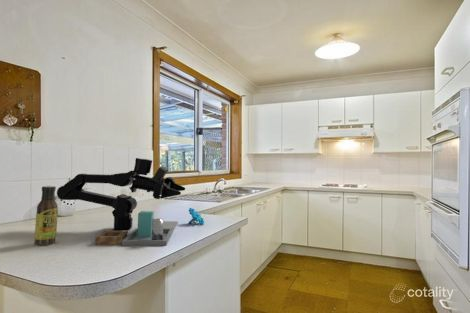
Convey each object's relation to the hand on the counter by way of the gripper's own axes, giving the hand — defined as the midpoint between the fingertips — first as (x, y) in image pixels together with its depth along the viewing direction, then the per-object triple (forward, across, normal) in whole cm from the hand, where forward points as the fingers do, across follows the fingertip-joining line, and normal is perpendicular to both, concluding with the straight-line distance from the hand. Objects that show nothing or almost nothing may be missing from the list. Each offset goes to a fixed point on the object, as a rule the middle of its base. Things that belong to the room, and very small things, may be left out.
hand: (183, 191), depth 119 cm
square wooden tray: (-18, -21, +18) cm, 33 cm away
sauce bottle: (-40, -24, +22) cm, 51 cm away
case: (-7, -7, +18) cm, 20 cm away
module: (-9, -12, +17) cm, 23 cm away
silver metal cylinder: (-2, -20, +15) cm, 25 cm away
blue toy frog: (+7, +12, +18) cm, 23 cm away
